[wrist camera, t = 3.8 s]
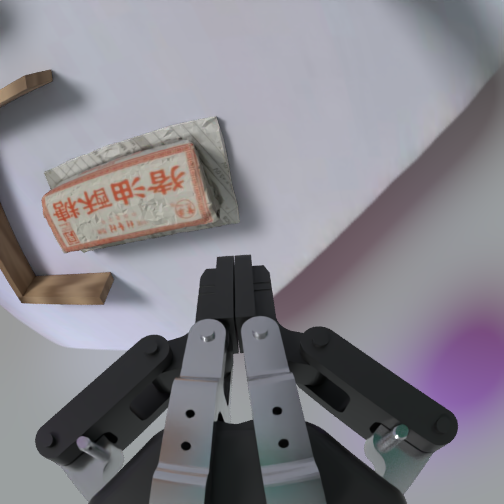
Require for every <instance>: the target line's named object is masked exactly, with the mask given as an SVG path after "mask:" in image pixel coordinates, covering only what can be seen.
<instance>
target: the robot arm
mask: <svg viewBox="0 0 504 504" xmlns="http://www.w3.org/2000/svg"><path fill="white" fill-rule="evenodd" d="M238 340H239V348H240V353H244V359H245V368H246V375H247V382H248V390H249V395H250V396H249V397H250V403H251V411H252V418H253V420H250V421H247V422H243V423H240V424H231V415H230V404H231V390H232V389H231V388H232V376H233V354H235V353H238V352H239V349H238ZM296 384H297V385H298V387H299V388H301V389H302V390H303V391H304V392H305V393H307V394H308V395H309V396H310V397H311V398H313V399H314V400H315V401H316V402H318V403H319V404H320V405H322V406H323V407H324V408H325V409H326V410H328V411H329V412H330V413H331V414H333V415H334V416H335V417H337V418H338V419H339V420H341V421H342V422H343V423H345V424H346V425H347V426H348V427H350V428H351V429H352V430H354V431H355V432H356V433H358V434H359V435H360V436H362V437H363V438H364V439H366V442H365V445H364V451H365V455H366V457H367V458H368V459H369V460H370V461H371V462H372V464H373V465H374V468H375V471H374V470H372V469H371V468H370V467H368V466H367V465H366V464H365V463H363V462H362V461H361V460H360V459H358V458H357V457H356V456H355V455H353V454H352V453H351V452H350V451H349V450H347V449H346V448H345V447H344V446H342V445H341V444H340V443H339V442H338V441H336V440H335V439H334V438H333V437H332V436H331V435H329V434H328V433H327V432H326V431H324V430H323V429H321V428H320V427H318V426H316V425H314V424H311V423H309V422H305V420H304V416H303V411H302V407H301V403H300V399H299V395H298V391H297V387H296ZM166 408H168V411H167V416H166V422H165V428H164V429H163V430H162V431H160V432H158V433H157V434H156V435H154V436H153V437H152V438H151V439H150V440H149V441H148V442H147V443H146V444H145V446H144V447H143V448H142V449H141V450H140V451H139V452H138V453H137V454H136V455H135V456H134V457H133V458H132V459H131V460H130V461H129V462H128V463H127V464H126V465H125V466H124V467H123V468H122V469H121V470H120V468H121V467H122V466H123V462H124V455H123V452H122V451H123V450H124V449H125V448H126V447H127V446H128V445H129V444H131V443H132V442H133V441H134V440H135V439H136V438H137V437H138V436H139V435H140V434H141V433H142V432H143V431H144V430H145V429H146V428H147V427H148V426H149V425H150V424H151V423H152V422H153V421H154V420H155V419H156V418H158V417H159V416H160V415H161V414H162V412H164V411H165V410H166ZM457 430H458V423H457V419H456V417H455V416H454V414H453V413H452V412H451V411H449V410H447V409H446V408H445V407H443V406H442V405H440V404H438V403H437V402H436V401H434V400H433V399H431V398H430V397H428V396H427V395H425V394H424V393H422V392H421V391H419V390H418V389H416V388H415V387H413V386H412V385H410V384H409V383H407V382H406V381H404V380H403V379H401V378H400V377H398V376H397V375H395V374H394V373H393V372H391V371H390V370H388V369H387V368H385V367H384V366H382V365H381V364H380V363H378V362H377V361H375V360H373V359H372V358H371V357H369V356H368V355H366V354H365V353H364V352H362V351H361V350H359V349H358V348H356V347H355V346H353V345H352V344H351V343H349V342H348V341H346V340H345V339H343V338H342V337H340V336H339V335H338V334H336V333H335V332H333V331H332V330H330V329H328V328H325V327H312V328H310V329H308V330H306V331H305V332H304V333H300V332H294V331H290V330H288V329H286V328H284V327H282V326H281V325H280V324H279V323H278V321H277V319H276V314H275V307H274V300H273V293H272V287H271V280H270V273H269V272H268V270H267V269H266V268H265V266H264V265H261V266H252V262H251V255H238V256H235V264H234V256H223V257H217V265H216V268H215V269H206V270H205V272H204V273H203V274H202V276H201V278H200V288H199V295H198V303H197V312H196V321H195V324H194V325H193V326H192V327H191V329H190V330H189V333H187V334H186V335H184V336H182V337H180V338H176V339H173V340H170V341H167V340H166V339H165V338H164V337H162V336H160V335H149V336H146V337H144V338H142V339H141V340H140V341H138V342H137V343H136V344H135V345H134V346H133V347H132V348H130V349H129V350H128V351H127V352H126V353H125V354H124V355H122V356H121V357H120V358H119V359H118V360H117V361H116V362H114V363H113V364H112V365H111V366H110V367H109V368H108V369H106V370H105V371H104V372H103V373H102V374H101V375H100V376H98V377H97V378H96V379H95V380H94V381H93V382H92V383H90V385H88V386H87V387H86V388H85V389H84V390H83V391H82V392H80V393H79V394H78V395H77V396H76V397H75V398H73V400H71V401H70V402H69V403H68V404H67V405H66V406H64V407H63V408H62V409H61V410H60V411H59V412H58V413H57V414H55V415H54V416H53V417H52V418H51V419H50V420H49V421H48V422H46V423H45V424H44V425H43V426H42V427H41V428H40V429H39V430H38V432H37V434H36V439H35V443H36V447H37V450H38V451H39V453H40V454H41V455H42V456H44V457H45V458H47V459H49V460H51V461H53V462H55V463H56V464H58V465H59V466H61V468H62V469H63V470H64V472H65V473H66V474H67V476H68V477H69V478H70V480H71V481H72V482H73V484H74V485H75V486H76V488H77V489H78V490H79V491H80V493H81V494H82V495H83V496H84V497H85V499H86V500H87V501H88V502H89V503H88V504H407V502H406V499H405V497H404V493H405V492H406V491H407V490H408V488H409V487H410V486H411V484H412V483H413V482H414V480H415V479H416V477H417V476H418V475H419V473H420V472H421V470H422V469H423V467H424V466H425V464H426V463H427V462H428V460H429V458H430V457H431V455H432V454H433V453H434V452H435V451H436V450H438V449H440V448H442V447H443V446H445V445H446V444H448V443H450V442H451V441H452V440H453V439H454V437H455V436H456V434H457ZM119 470H120V471H119ZM118 471H119V472H118Z"/></svg>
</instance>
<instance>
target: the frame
mask: <svg viewBox="0 0 504 504" xmlns="http://www.w3.org/2000/svg"><path fill="white" fill-rule="evenodd" d="M52 81H53V79H52V72H51V70H46V71H42V72H37V73H33V74H29V75H25V76H23V77H21V78H19V79H18V80H16V81H14V82H12V83H11V84H9V85H7V86H6V87H4V88H2V89H1V90H0V108H1V107H2V106H4V105H6V104H8V103H9V102H11V101H13V100H15V99H17V98H19V97H21V96H23V95H24V94H26V93H28V92H30V91H33V90H35V89H37V88H39V87H41V86H43V85H45V84H47V83H50V82H52ZM0 269H1V271H2V272H3V274H4V276H5V277H6V279H7V281H8V282H9V284H10V286H11V287H12V289H13V290H14V292H15V294H16V295H17V297H18V298H19V300H20V301H21V303H31V304H73V305H104V303H105V300H106V298H107V295H108V293H109V290H110V288H111V286H112V283H113V281H114V279H113V277H112V275H111V272H106V273H87V274H67V275H46V276H35V274H34V272H33V270H32V269H31V267H30V265H29V263H28V261H27V259H26V257H25V256H24V254H23V252H22V250H21V248H20V246H19V244H18V242H17V240H16V237H15V235H14V233H13V231H12V229H11V227H10V224H9V222H8V220H7V218H6V215H5V213H4V210H3V208H2V206H1V203H0Z"/></svg>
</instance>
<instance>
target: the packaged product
mask: <svg viewBox="0 0 504 504" xmlns="http://www.w3.org/2000/svg"><path fill="white" fill-rule="evenodd" d="M44 174H45V176H46V179H47V181H48V184H49V186H50V189H51V190H50V191H49V192H48V193H46V194H45V195H44V196H43V197H42V207H43V215H44V218H46V219H47V221H48V225H49V226H50V227H51V229H52V232H53V235H54V236H55V238H56V240H57V242H58V243H59V245H60V247H61V248H62V251H63V252H64V253H68V252H70V251H79V250H81V251H82V252H84V253H85V252H87V251H90V250H92V251H93V250H95V249H101V248H106V247H111V246H116V245H120V244H125V243H130V242H135V241H142V240H146V239H151V238H157V237H162V236H166V235H173V234H177V233H181V232H190V231H196V230H201V229H207V228H212V227H219V226H223V225H228V224H236V223H239V222H240V219H239V211H238V204H237V200H236V197H235V193H234V189H233V186H232V182H231V175H230V168H229V163H228V158H227V153H226V148H225V143H224V139H223V135H222V132H221V129H220V126H219V123H218V120H217V117H216V116H214V117H209V118H203V119H198V120H193V121H189V122H184V123H180V124H175V125H171V126H168V127H165V128H162V129H159V130H156V131H153V132H149V133H146V134H143V135H140V136H136V137H133V138H130V139H127V140H124V141H122V142H118V143H114V144H110V145H107V146H104V147H102V148H99V149H97V150H95V151H93V152H91V153H89V154H87V155H82V156H80V157H77V158H74V159H71V160H69V161H67V162H65V163H63V164H61V165H59V166H57V167H56V168H53V169H50V170H48V171H45V173H44Z"/></svg>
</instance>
